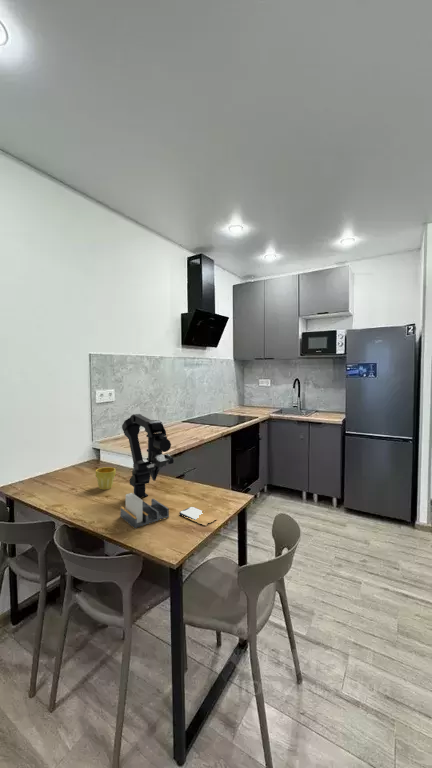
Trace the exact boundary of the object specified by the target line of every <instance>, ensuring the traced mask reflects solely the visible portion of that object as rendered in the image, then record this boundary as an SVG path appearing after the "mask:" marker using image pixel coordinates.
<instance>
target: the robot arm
mask: <svg viewBox="0 0 432 768" xmlns="http://www.w3.org/2000/svg"><path fill="white" fill-rule="evenodd" d="M141 427H142V428H144V431H145V432H146V437H147V449H146V452H147V457H146V460H147V461H145V460H144V459H143V454H142V449H141V445H140V440H139V434H140V431H141V430H140V428H141ZM121 428H122V431H123V435H124V436H125V437H126V438H127V439H128V443H129V447H130V451H131V457H132V461H133V462H132V463H133V465H132V471H131V473H132V474H131V477H130V478H129V480H128V481H129V485H131V486H132V487H133V494H135V495H136V496H137V497H139V498H140V499H141V498H145V497H148V496H149V494H147V493H146V485H147V484H149V483H150V481H151V479H152V482H153V481H154V482H155V481H156V479H157V477H158V475H159V472H160V470H161V469H162V468H164V467H166V466H167V464H168V465H171V464H174V463H175V458H174V457H173V456H171V455H170V454H169V453H168V454H167V452H168V451H170V450H171V446H172V443H171V441H170V440H169V439H168V435H167V431H166V429H165V427H164V424H163V422H162V421H161V420H159V419H158V420H157V419H151V418H148V417H146V416H144V415H143V414H141V413H135V414H131V415H130V417H128V418H127V419H125V420H124V421H123V423H122V425H121ZM163 453H166V454H163Z"/></svg>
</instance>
